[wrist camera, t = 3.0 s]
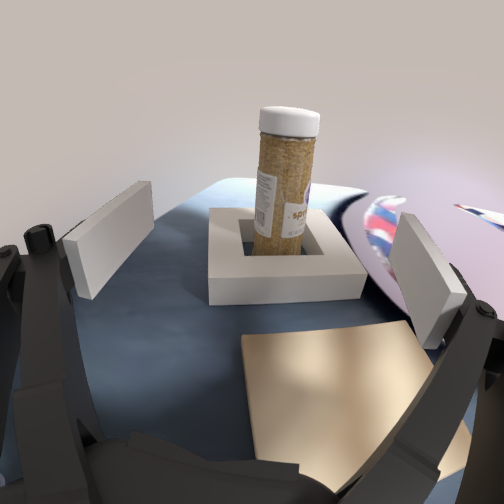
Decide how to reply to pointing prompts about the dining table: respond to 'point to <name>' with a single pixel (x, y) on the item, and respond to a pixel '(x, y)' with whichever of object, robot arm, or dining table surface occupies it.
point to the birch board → (335, 396)
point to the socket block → (279, 263)
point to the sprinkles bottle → (283, 179)
